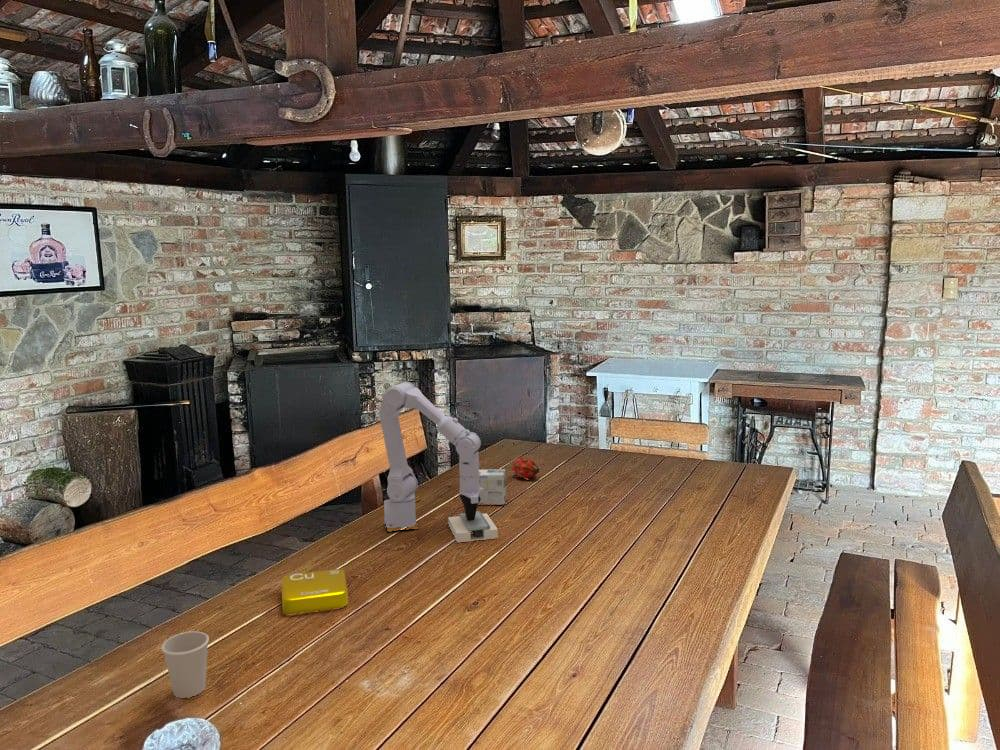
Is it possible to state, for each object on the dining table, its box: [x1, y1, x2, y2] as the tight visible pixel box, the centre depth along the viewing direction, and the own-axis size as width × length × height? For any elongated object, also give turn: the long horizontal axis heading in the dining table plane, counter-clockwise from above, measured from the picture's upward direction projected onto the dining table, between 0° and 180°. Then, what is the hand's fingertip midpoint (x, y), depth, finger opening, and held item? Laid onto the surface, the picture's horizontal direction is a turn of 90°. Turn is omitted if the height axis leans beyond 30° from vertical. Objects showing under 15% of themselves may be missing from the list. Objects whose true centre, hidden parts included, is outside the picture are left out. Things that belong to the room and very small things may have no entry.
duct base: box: [447, 513, 499, 542], centre depth 222 cm, size 12×14×3 cm
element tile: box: [281, 568, 349, 614], centre depth 181 cm, size 15×15×5 cm
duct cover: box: [459, 510, 490, 531], centre depth 222 cm, size 6×13×1 cm, turn 14°
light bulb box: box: [479, 468, 507, 505], centre depth 248 cm, size 11×7×11 cm, turn 84°
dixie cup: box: [161, 630, 210, 698], centre depth 143 cm, size 8×8×10 cm
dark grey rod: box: [472, 530, 481, 537], centre depth 222 cm, size 2×10×2 cm
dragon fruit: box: [510, 456, 540, 479], centre depth 275 cm, size 8×8×12 cm
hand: (470, 519), depth 222 cm, fingers closed
